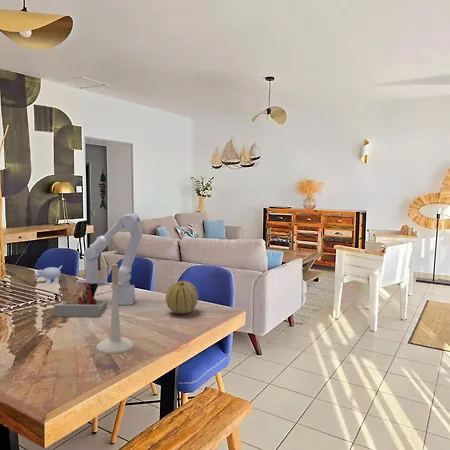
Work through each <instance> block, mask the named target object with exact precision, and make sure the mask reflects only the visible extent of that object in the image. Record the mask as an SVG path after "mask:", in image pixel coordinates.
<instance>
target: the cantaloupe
mask: <svg viewBox="0 0 450 450" xmlns="http://www.w3.org/2000/svg"><path fill="white" fill-rule="evenodd" d="M198 301H199V293H198V289H197V288H196V286H195V285H194V284H193V283H191V282H189V281H186V280H180V281H176V282H174V283H172V284H171V285H170V286H169V287H168V290H167V292H166V295H165V303H166V306H167V307H168V309H169V310H170V311H172V312H173V313H175V314H179V315H184V314H188V313H191V312H192V311H194V309H196V307H197V305H198Z"/></svg>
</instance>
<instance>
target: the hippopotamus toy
mask: <svg viewBox="0 0 450 450" xmlns="http://www.w3.org/2000/svg"><path fill="white" fill-rule="evenodd" d="M62 267H63V265H62V264H61V265H60V266H59V267H52V266H50V267H46V268H44V269H38V270H37V272H35V273H34V278H35V279H38V278H44V285H50V284H59V283H60V276H61V274H62V272H61V269H62Z"/></svg>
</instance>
